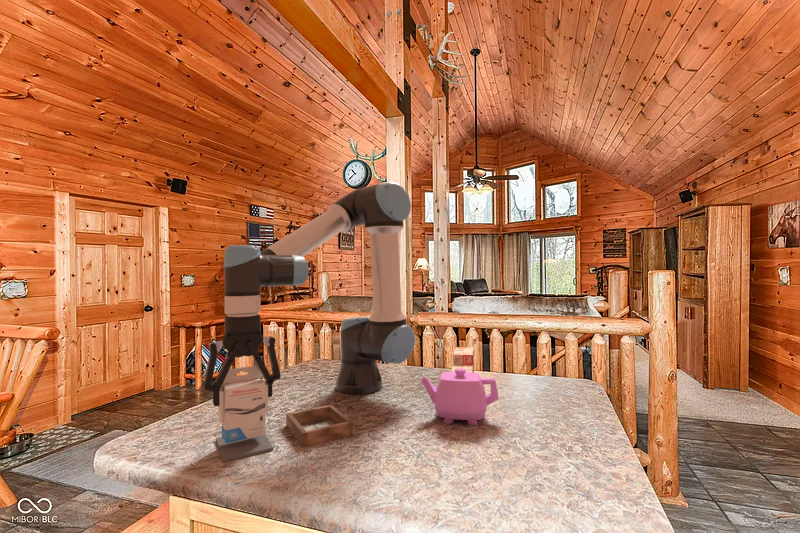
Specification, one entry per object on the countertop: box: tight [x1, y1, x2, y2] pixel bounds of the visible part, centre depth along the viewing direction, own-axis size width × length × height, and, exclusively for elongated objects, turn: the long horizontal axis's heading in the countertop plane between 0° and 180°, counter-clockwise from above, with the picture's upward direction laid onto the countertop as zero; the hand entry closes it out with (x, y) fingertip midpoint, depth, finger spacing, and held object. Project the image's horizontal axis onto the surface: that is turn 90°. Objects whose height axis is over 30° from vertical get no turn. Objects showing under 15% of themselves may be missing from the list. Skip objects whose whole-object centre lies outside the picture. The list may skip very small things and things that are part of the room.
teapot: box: [420, 368, 499, 426], centre depth 104 cm, size 20×12×13 cm, turn 80°
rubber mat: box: [215, 434, 274, 463], centre depth 88 cm, size 10×12×1 cm
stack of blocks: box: [451, 346, 475, 373], centre depth 125 cm, size 21×6×12 cm, turn 168°
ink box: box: [221, 364, 266, 443], centre depth 88 cm, size 8×5×15 cm, turn 123°
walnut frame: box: [285, 404, 354, 448], centre depth 96 cm, size 12×14×3 cm
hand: (243, 415), depth 88 cm, fingers closed on ink box, 8 cm apart
